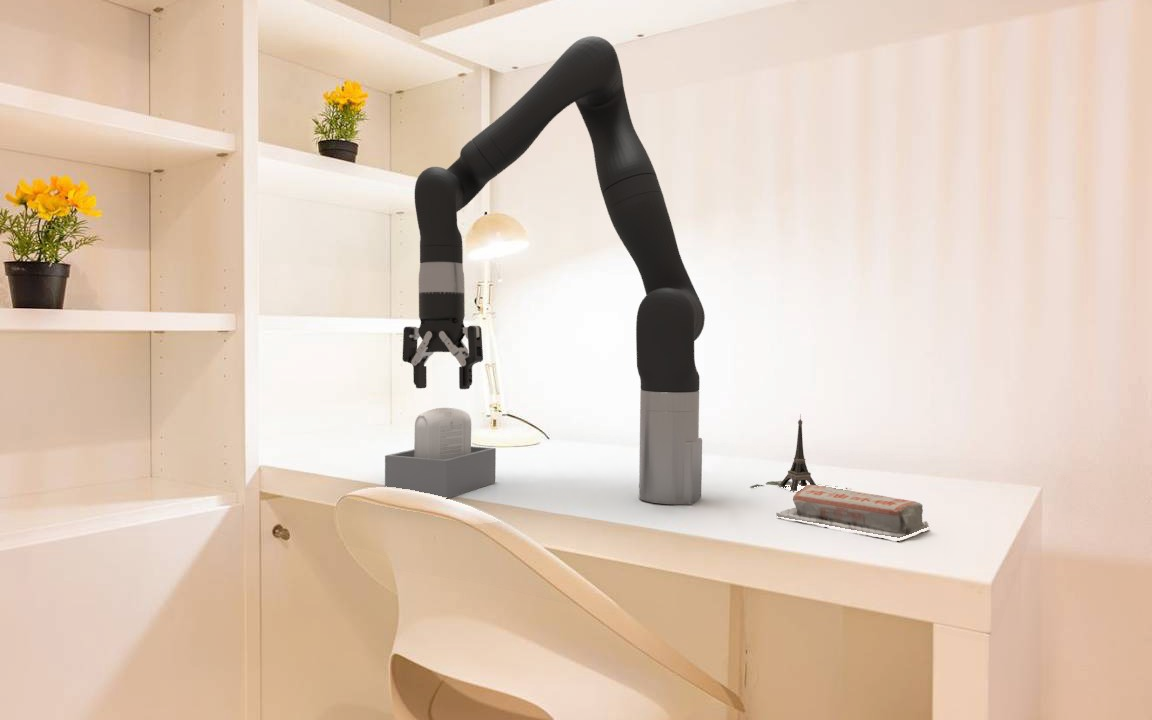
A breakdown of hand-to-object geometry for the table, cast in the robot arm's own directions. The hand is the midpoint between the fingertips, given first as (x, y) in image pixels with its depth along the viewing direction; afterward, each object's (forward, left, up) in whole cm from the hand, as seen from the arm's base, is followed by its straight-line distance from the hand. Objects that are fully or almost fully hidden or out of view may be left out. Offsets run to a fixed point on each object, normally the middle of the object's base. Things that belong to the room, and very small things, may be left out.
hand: (442, 388), depth 134 cm
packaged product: (-65, -4, -17) cm, 67 cm away
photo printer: (0, 0, -16) cm, 16 cm away
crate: (0, 0, -17) cm, 17 cm away
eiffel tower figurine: (-55, -28, -17) cm, 64 cm away
